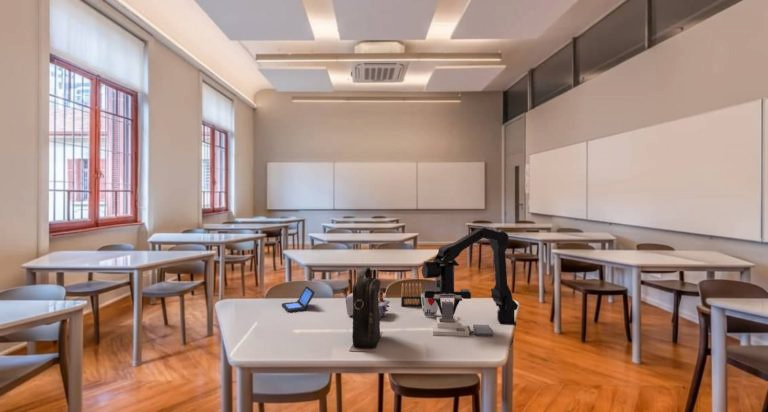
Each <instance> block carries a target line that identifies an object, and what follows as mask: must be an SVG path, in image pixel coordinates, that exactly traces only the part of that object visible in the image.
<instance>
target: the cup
mask: <svg viewBox="0 0 768 412" xmlns="http://www.w3.org/2000/svg"><path fill="white" fill-rule="evenodd" d="M421 301H422V307H421V308H422V313H423V315H424V317H425V318H435V317H437V316H436V315H437V313H438V309H439V307H438V304H437V302H436V301H435V300H433V298H425V292H422V294H421Z"/></svg>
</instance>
